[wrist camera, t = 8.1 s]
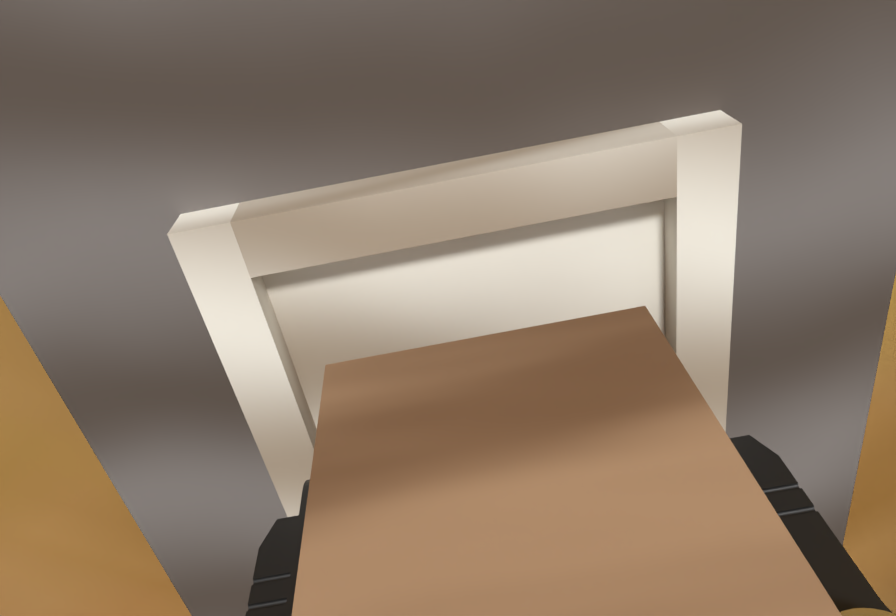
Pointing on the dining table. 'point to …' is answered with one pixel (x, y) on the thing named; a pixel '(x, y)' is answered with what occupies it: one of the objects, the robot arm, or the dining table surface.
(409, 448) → the walnut block
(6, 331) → the dining table surface
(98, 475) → the dining table surface
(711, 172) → the building board
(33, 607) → the dining table surface
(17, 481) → the dining table surface
